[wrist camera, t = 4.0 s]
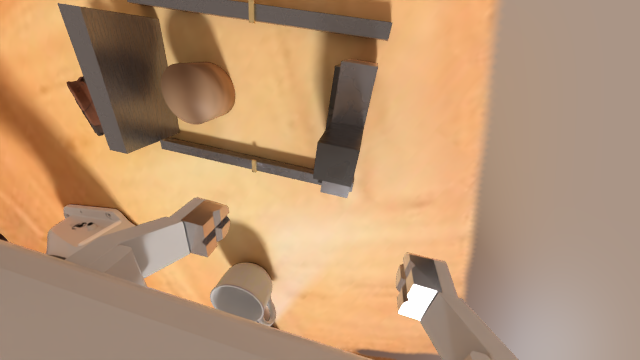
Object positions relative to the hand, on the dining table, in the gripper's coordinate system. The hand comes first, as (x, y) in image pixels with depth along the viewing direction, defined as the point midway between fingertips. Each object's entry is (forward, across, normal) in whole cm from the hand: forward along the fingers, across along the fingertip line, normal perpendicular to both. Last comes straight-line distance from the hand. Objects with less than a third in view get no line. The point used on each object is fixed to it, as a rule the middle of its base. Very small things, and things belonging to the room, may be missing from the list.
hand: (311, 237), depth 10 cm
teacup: (+23, -13, -38) cm, 46 cm away
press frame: (+22, -14, 0) cm, 27 cm away
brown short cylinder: (+23, -20, 0) cm, 30 cm away
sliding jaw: (+23, 0, 0) cm, 23 cm away
